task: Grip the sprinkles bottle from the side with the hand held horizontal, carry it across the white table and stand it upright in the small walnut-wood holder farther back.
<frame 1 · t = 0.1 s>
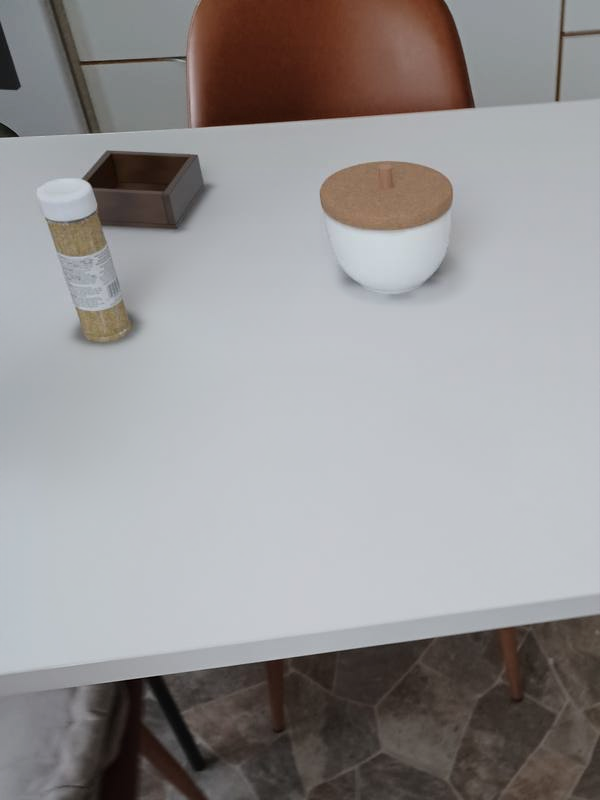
sprinkles bottle: (108, 334, 90), on the table
lidded bowl: (392, 280, 98), on the table
holder: (145, 208, 108), on the table
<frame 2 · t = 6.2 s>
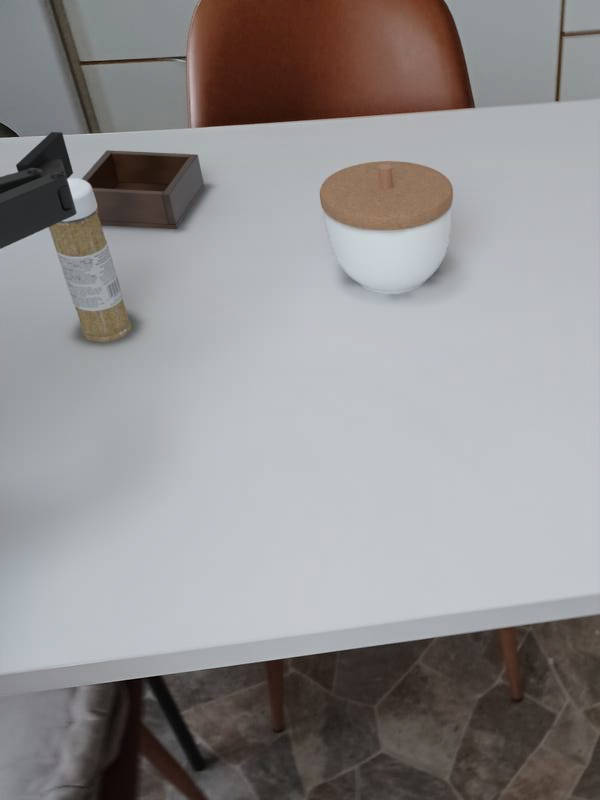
nothing on the table moved.
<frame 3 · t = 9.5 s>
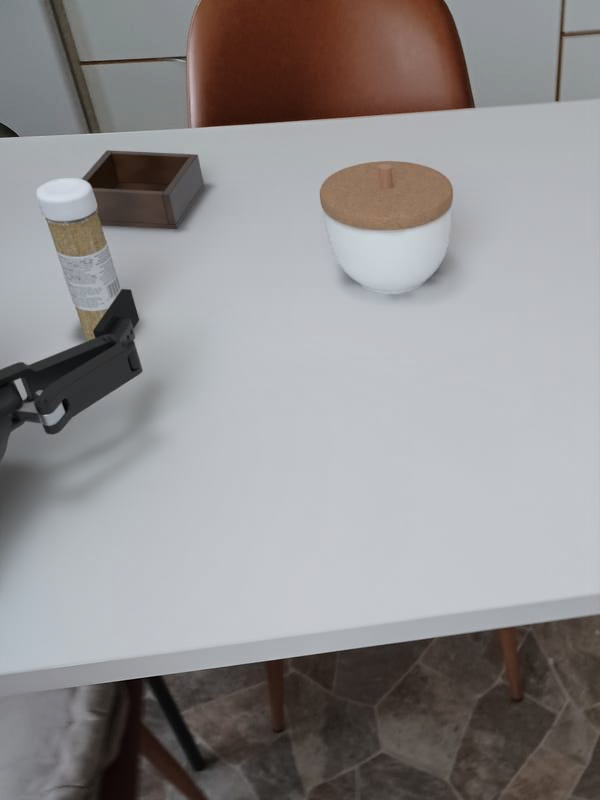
hand: (51, 299, 80), 7 cm above the table, tool horizontal, fingers open, 13 cm apart
nothing on the table moved.
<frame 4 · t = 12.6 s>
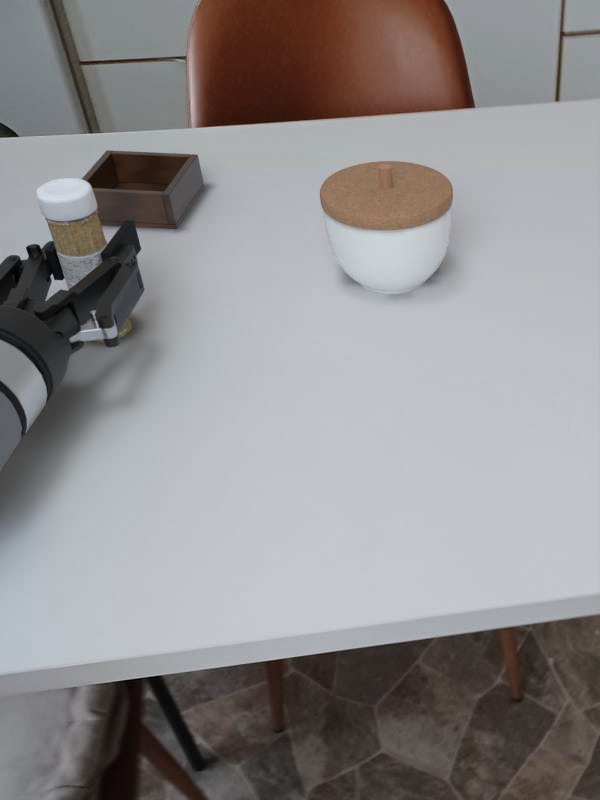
hand: (107, 233, 89), 7 cm above the table, tool horizontal, fingers closed on sprinkles bottle, 4 cm apart
sprinkles bottle: (108, 334, 90), on the table, touching gripper
everything else where it was.
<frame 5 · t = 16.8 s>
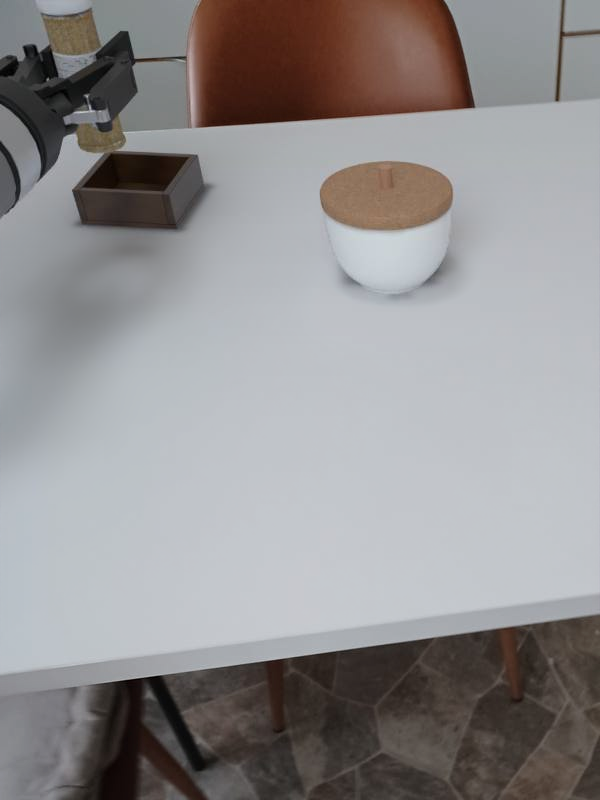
hand: (102, 46, 91), 18 cm above the table, tool horizontal, fingers closed on sprinkles bottle, 4 cm apart
sprinkles bottle: (103, 148, 93), point 11 cm above the table, touching gripper
everything else where it was.
when the fingers open (8 cm above the table, at t = 21.4 s): sprinkles bottle stays where it is, resting on holder.
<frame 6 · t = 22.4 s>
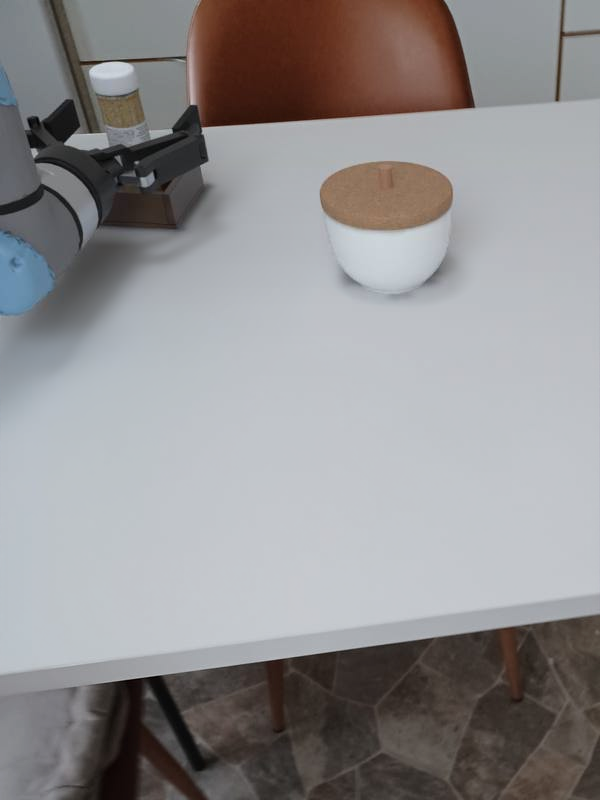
hand: (134, 115, 104), 9 cm above the table, tool horizontal, fingers open, 13 cm apart
sprinkles bottle: (145, 202, 107), point 1 cm above the table, touching holder
everything else where it was.
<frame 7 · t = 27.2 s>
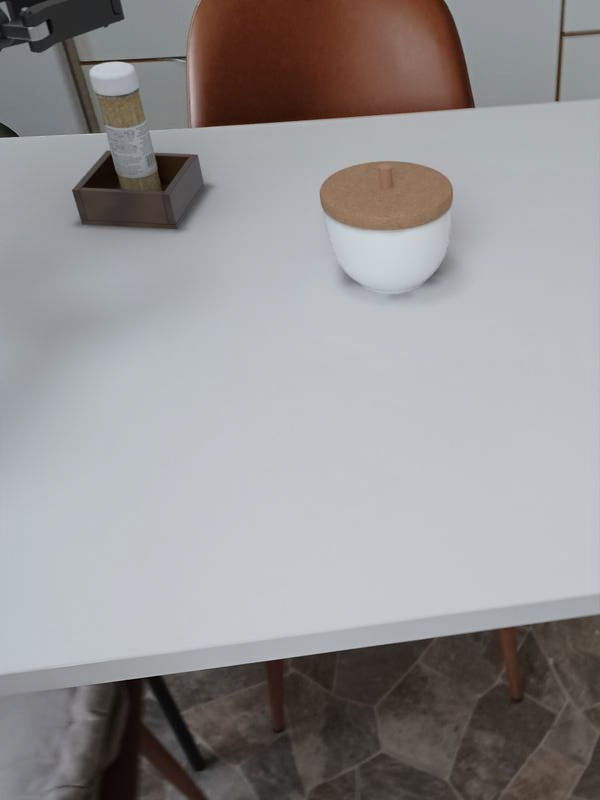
nothing on the table moved.
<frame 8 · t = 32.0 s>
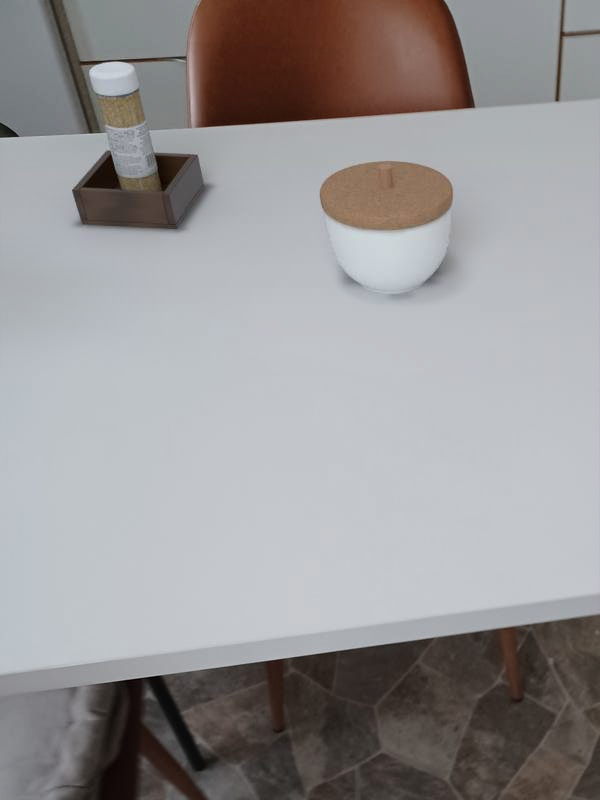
nothing on the table moved.
at the end: sprinkles bottle inside the target area in the holder (0.1 cm from its centre), point 0.6 cm above the holder's base; sprinkles bottle tilted 0°; the gripper is holding nothing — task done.
